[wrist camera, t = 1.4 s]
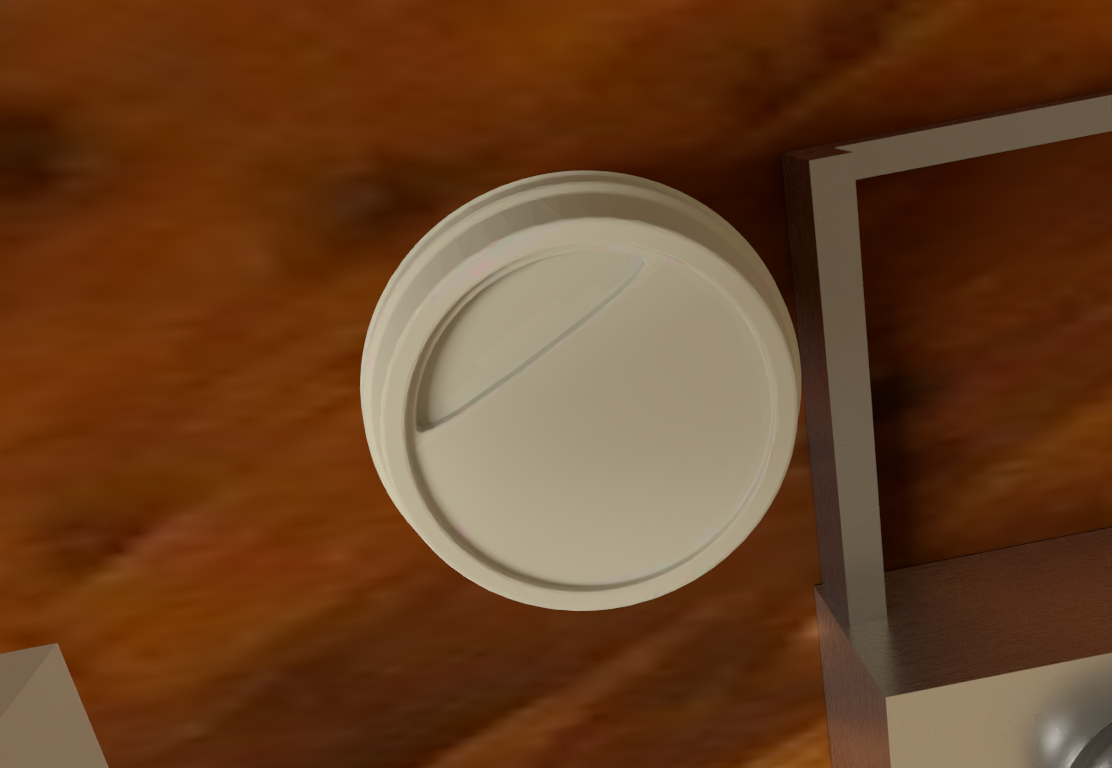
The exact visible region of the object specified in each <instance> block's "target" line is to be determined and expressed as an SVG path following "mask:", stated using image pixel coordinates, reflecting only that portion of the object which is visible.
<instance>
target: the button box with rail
mask: <svg viewBox="0 0 1112 768" xmlns="http://www.w3.org/2000/svg"><path fill="white" fill-rule="evenodd" d="M1109 131H1112V90H1108V91H1103V92H1098V93H1093V94H1087V95H1082V96H1077V97H1072V98H1066V99H1061V100H1056V101H1051V102H1045V103H1040V104H1035V105H1030V106H1024V107H1019V108H1014V109H1009V110H1003V111H998V112H993V113H988V114H982V115H977V116H972V117H967V118H961V119H956V120H951V121H946V122H940V123H935V124H930V125H925V126H919V127H914V128H909V129H904V130H898V131H893V132H888V133H883V134H877V135H872V136H867V137H862V138H856V139H851V140H846V141H841V142H835V143H830V144H825V145H820V146H815V147H809V148H804V149H799V150H794V151H788V152H783V153H781V161H782V171H783V182H784V192H785V202H786V212H787V223H788V233H789V243H790V254H791V264H792V274H793V284H794V295H795V305H796V315H797V326H798V336H799V346H800V357H801V367H802V377H803V387H804V398H805V408H806V418H807V429H808V439H809V449H810V459H811V470H812V480H813V490H814V501H815V511H816V521H817V532H818V542H819V552H820V562H821V573H822V583H823V584H821V585H816V586H814V591H815V601H816V611H817V621H818V631H819V641H820V651H821V661H822V671H823V681H824V691H825V700H826V710H827V720H828V730H829V740H830V750H831V760H832V768H1112V527H1111V528H1106V529H1101V530H1096V531H1091V532H1086V533H1081V534H1075V535H1070V536H1065V537H1060V538H1055V539H1050V540H1045V541H1040V542H1035V543H1030V544H1025V545H1019V546H1014V547H1009V548H1004V549H999V550H994V551H989V552H984V553H979V554H974V555H969V556H963V557H958V558H953V559H948V560H943V561H938V562H933V563H928V564H923V565H918V566H913V567H907V568H902V569H897V570H892V571H887V572H884V568H883V554H882V540H881V526H880V512H879V498H878V485H877V471H876V457H875V443H874V429H873V415H872V402H871V388H870V374H869V360H868V346H867V332H866V319H865V305H864V291H863V277H862V263H861V249H860V235H859V222H858V208H857V194H856V180H858V179H863V178H868V177H873V176H879V175H884V174H889V173H894V172H900V171H905V170H910V169H915V168H920V167H926V166H931V165H936V164H941V163H947V162H952V161H957V160H962V159H968V158H973V157H978V156H983V155H988V154H994V153H999V152H1004V151H1009V150H1015V149H1020V148H1025V147H1030V146H1036V145H1041V144H1046V143H1051V142H1056V141H1062V140H1067V139H1072V138H1077V137H1083V136H1088V135H1093V134H1098V133H1104V132H1109Z"/></svg>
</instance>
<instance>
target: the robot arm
mask: <svg viewBox="0 0 1112 768" xmlns="http://www.w3.org/2000/svg"><path fill="white" fill-rule="evenodd" d="M0 768H108V765H107V763H106V760H105V758H104V756H103V753H102V751H101V748H100V746H99V743H98V741H97V738H96V736H95V734H94V731H93V729H92V726H91V724H90V721H89V719H88V717H87V714H86V712H85V709H84V707H83V704H82V702H81V700H80V697H79V695H78V692H77V690H76V687H75V685H74V683H73V680H72V678H71V675H70V673H69V670H68V668H67V666H66V663H65V661H64V658H63V656H62V653H61V651H60V649H59V646H58V644H57V643H55V644H50V645H45V646H39V647H34V648H29V649H24V650H19V651H14V652H9V653H4V654H0Z"/></svg>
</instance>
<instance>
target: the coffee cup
mask: <svg viewBox="0 0 1112 768" xmlns="http://www.w3.org/2000/svg"><path fill="white" fill-rule="evenodd" d="M360 392H361V406H362V414H363V420H364V426H365V432H366V437H367V441H368V445H369V449H370V452H371V456H372V459H373V462H374V464H375V467H376V469H377V472H378V474H379V476H380V479H381V481H382V483H383V485H384V487H385V489H386V490H387V492H388V494H389V496H390V498H391V499H392V501H393V502H394V504H395V505H396V507H397V508H398V510H399V511H400V513H401V514H402V515H403V516H404V518H405V519H406V520H407V522H408V523H409V524H410V525H411V526H412V527H413V528H414V529H415V531H416V532H417V533H418V534H419V535H420V536H421V538H422V539H423V540H424V541H425V542H426V543H427V544H428V546H429V547H430V548H431V549H432V550H433V551H434V552H435V553H436V554H437V555H438V556H439V557H441V558H442V559H443V560H444V561H445V562H446V563H447V564H448V565H449V566H451V567H452V568H454V569H455V570H456V571H458V572H459V573H461V574H462V575H463V576H465V577H466V578H468V579H469V580H471V581H473V582H475V583H477V584H478V585H480V586H482V587H484V588H486V589H487V590H489V591H492V592H494V593H497V594H499V595H502V596H504V597H506V598H509V599H512V600H515V601H519V602H522V603H525V604H529V605H534V606H539V607H544V608H550V609H559V610H573V611H588V610H604V609H612V608H618V607H624V606H629V605H633V604H637V603H640V602H644V601H648V600H651V599H654V598H657V597H659V596H662V595H664V594H667V593H669V592H672V591H674V590H676V589H678V588H680V587H682V586H684V585H686V584H688V583H690V582H692V581H694V580H695V579H697V578H698V577H700V576H701V575H703V574H705V573H706V572H708V571H709V570H711V569H712V568H714V567H715V566H716V565H717V564H719V563H720V562H721V561H722V560H724V559H725V558H726V557H727V556H729V555H730V554H731V553H732V552H733V551H734V550H735V549H736V548H737V547H738V546H739V545H740V544H741V543H742V542H743V541H744V540H745V539H746V538H747V536H748V535H749V534H750V533H751V532H752V530H753V529H754V528H755V527H756V525H757V524H758V523H759V522H760V521H761V519H762V517H763V516H764V514H765V513H766V511H767V510H768V508H769V507H770V505H771V503H772V502H773V500H774V498H775V496H776V494H777V493H778V491H779V489H780V486H781V484H782V481H783V479H784V477H785V474H786V472H787V469H788V466H789V463H790V459H791V456H792V453H793V448H794V443H795V438H796V432H797V422H798V415H799V410H800V400H801V365H800V355H799V349H798V344H797V339H796V335H795V331H794V327H793V324H792V321H791V318H790V315H789V312H788V310H787V307H786V305H785V302H784V300H783V298H782V296H781V294H780V291H779V289H778V287H777V285H776V283H775V281H774V279H773V277H772V276H771V274H770V272H769V270H768V269H767V267H766V266H765V264H764V263H763V261H762V260H761V258H760V257H759V255H758V254H757V253H756V251H755V250H754V249H753V248H752V247H751V245H750V244H749V243H748V242H747V241H746V240H745V239H744V237H743V236H742V235H741V234H740V233H739V232H738V231H737V230H736V229H735V228H734V227H732V226H731V225H730V224H729V223H728V222H727V221H726V220H725V219H723V218H722V217H721V216H719V215H718V214H717V213H716V212H714V211H713V210H711V209H710V208H708V207H707V206H705V205H704V204H702V203H701V202H699V201H697V200H696V199H694V198H692V197H690V196H688V195H686V194H684V193H682V192H680V191H678V190H676V189H674V188H671V187H669V186H666V185H664V184H661V183H658V182H655V181H652V180H649V179H645V178H641V177H637V176H633V175H628V174H622V173H615V172H606V171H565V172H556V173H549V174H543V175H538V176H534V177H529V178H526V179H522V180H519V181H515V182H512V183H509V184H507V185H504V186H501V187H499V188H496V189H494V190H492V191H489V192H487V193H485V194H483V195H481V196H479V197H477V198H475V199H474V200H472V201H470V202H468V203H467V204H465V205H463V206H462V207H460V208H459V209H457V210H456V211H454V212H453V213H451V214H450V215H449V216H447V217H446V218H445V219H443V220H442V221H441V222H440V223H438V224H437V225H436V226H435V227H434V228H433V229H431V230H430V231H429V232H428V233H427V234H426V235H425V236H424V237H423V238H422V239H421V240H420V241H419V242H418V243H417V244H416V245H415V247H414V248H413V249H412V250H411V251H410V252H409V254H408V255H407V256H406V257H405V259H404V260H403V261H402V262H401V264H400V265H399V267H398V268H397V269H396V271H395V273H394V274H393V276H392V277H391V279H390V281H389V282H388V284H387V286H386V288H385V289H384V291H383V293H382V295H381V297H380V299H379V302H378V304H377V306H376V309H375V311H374V314H373V316H372V319H371V322H370V325H369V329H368V332H367V336H366V340H365V345H364V350H363V356H362V364H361V377H360Z"/></svg>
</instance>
